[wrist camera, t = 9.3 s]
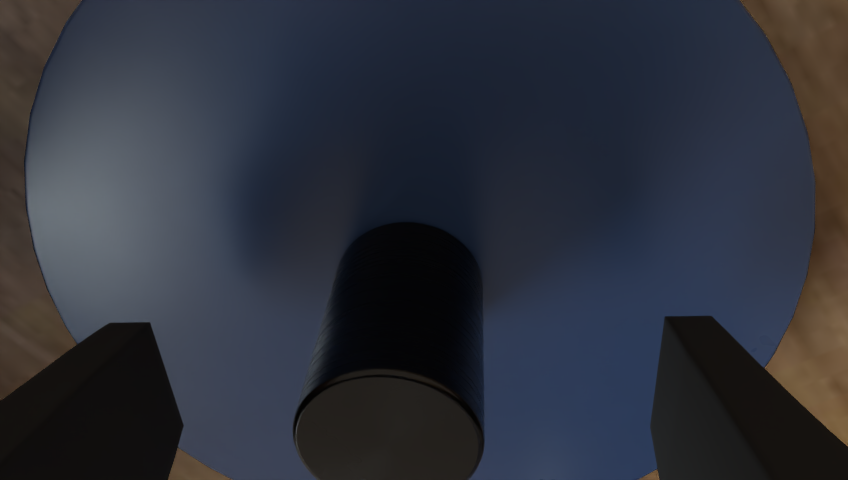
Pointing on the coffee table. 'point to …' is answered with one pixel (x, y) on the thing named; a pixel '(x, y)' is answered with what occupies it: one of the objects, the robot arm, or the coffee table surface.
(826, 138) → the coffee table surface
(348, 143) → the lid
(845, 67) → the coffee table surface
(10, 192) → the coffee table surface
